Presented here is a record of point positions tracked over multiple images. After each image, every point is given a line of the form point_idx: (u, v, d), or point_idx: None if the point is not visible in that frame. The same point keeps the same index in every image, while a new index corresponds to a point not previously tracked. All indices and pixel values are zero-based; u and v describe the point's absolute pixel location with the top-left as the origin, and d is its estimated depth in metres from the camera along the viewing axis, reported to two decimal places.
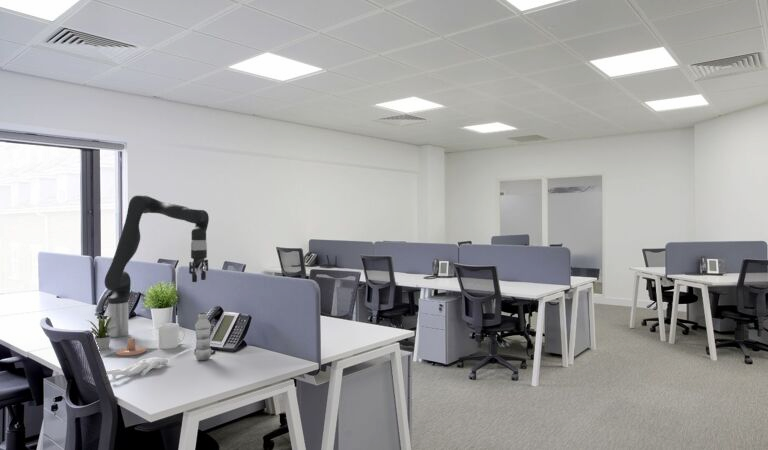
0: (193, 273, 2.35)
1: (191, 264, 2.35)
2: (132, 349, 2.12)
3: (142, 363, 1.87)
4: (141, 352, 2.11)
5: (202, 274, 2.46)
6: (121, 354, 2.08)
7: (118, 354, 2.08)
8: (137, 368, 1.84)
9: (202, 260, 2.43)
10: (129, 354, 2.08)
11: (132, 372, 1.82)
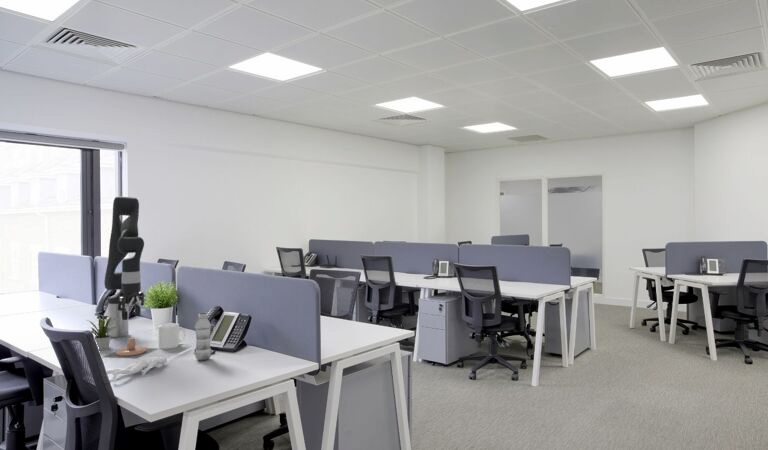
0: (122, 310, 2.06)
1: (120, 300, 2.06)
2: (132, 349, 2.12)
3: (142, 362, 1.87)
4: (141, 352, 2.11)
5: (136, 309, 2.17)
6: (121, 354, 2.08)
7: (118, 354, 2.08)
8: (137, 367, 1.84)
9: (135, 294, 2.14)
10: (129, 354, 2.08)
11: (132, 371, 1.82)
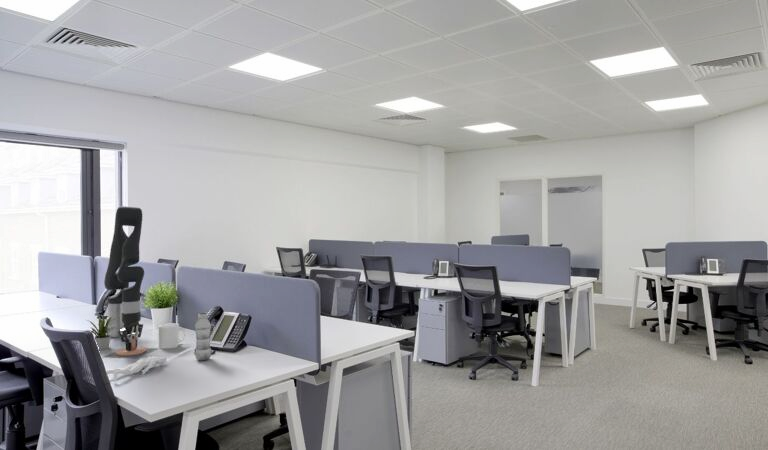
0: (126, 341, 2.09)
1: (121, 333, 2.07)
2: (132, 349, 2.12)
3: (141, 362, 1.88)
4: (141, 352, 2.11)
5: None
6: (121, 354, 2.08)
7: (118, 354, 2.08)
8: (137, 367, 1.85)
9: (135, 323, 2.15)
10: (129, 354, 2.08)
11: (132, 371, 1.83)
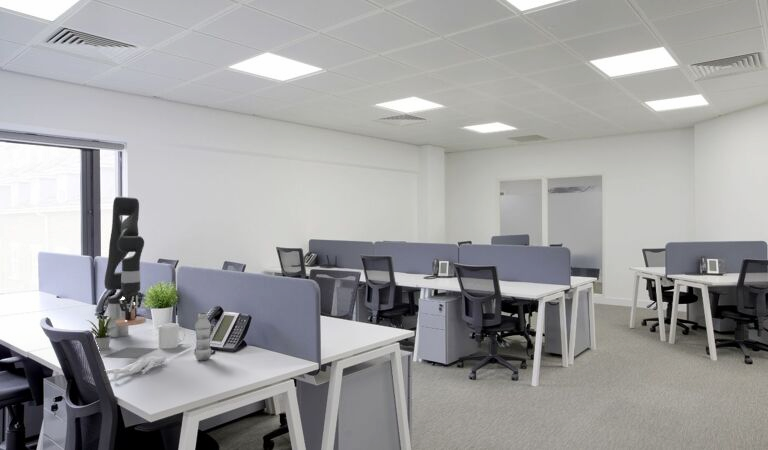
0: (126, 311, 2.08)
1: (121, 302, 2.07)
2: (132, 319, 2.12)
3: (141, 362, 1.88)
4: (141, 322, 2.11)
5: None
6: (121, 323, 2.07)
7: (118, 323, 2.08)
8: (137, 367, 1.85)
9: (135, 293, 2.14)
10: (129, 323, 2.08)
11: (132, 371, 1.83)
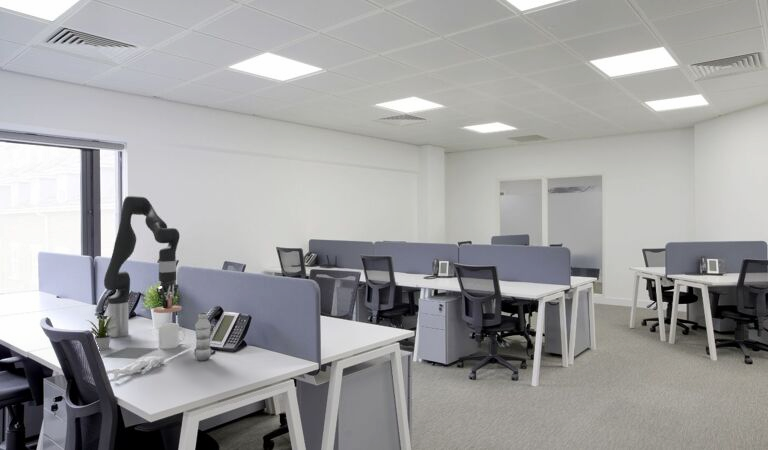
0: (163, 299, 2.19)
1: (159, 291, 2.18)
2: (169, 307, 2.23)
3: (141, 362, 1.88)
4: (177, 309, 2.22)
5: None
6: (159, 311, 2.18)
7: (156, 311, 2.19)
8: (137, 367, 1.85)
9: (171, 282, 2.25)
10: (166, 311, 2.18)
11: (132, 371, 1.83)
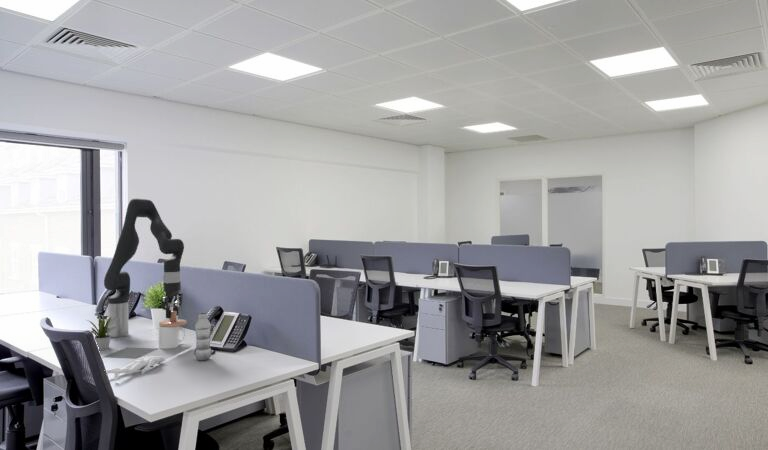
0: (167, 309, 2.20)
1: (163, 300, 2.19)
2: (174, 321, 2.25)
3: (141, 361, 1.89)
4: (182, 324, 2.24)
5: (174, 309, 2.28)
6: (164, 325, 2.20)
7: (161, 325, 2.21)
8: (137, 366, 1.86)
9: (176, 293, 2.27)
10: (172, 325, 2.20)
11: (132, 370, 1.84)
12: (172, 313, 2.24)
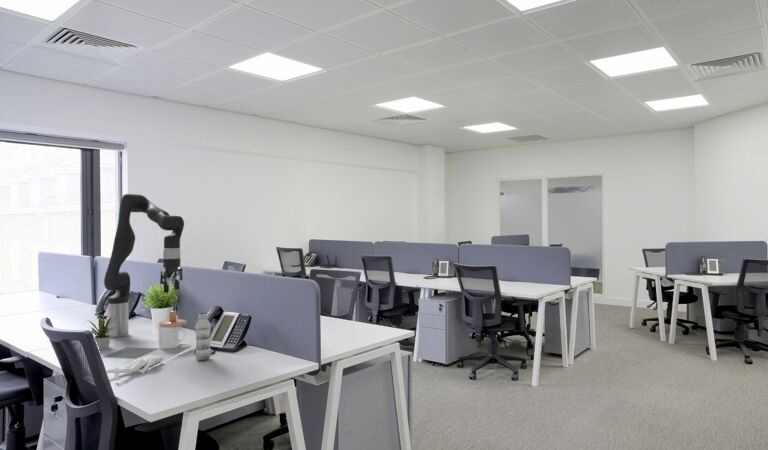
0: (164, 283, 2.21)
1: (162, 274, 2.21)
2: (174, 321, 2.25)
3: (140, 361, 1.89)
4: (182, 324, 2.24)
5: (175, 284, 2.32)
6: (164, 325, 2.20)
7: (161, 325, 2.21)
8: (136, 366, 1.86)
9: (175, 269, 2.29)
10: (172, 325, 2.20)
11: (132, 370, 1.84)
12: (172, 313, 2.24)
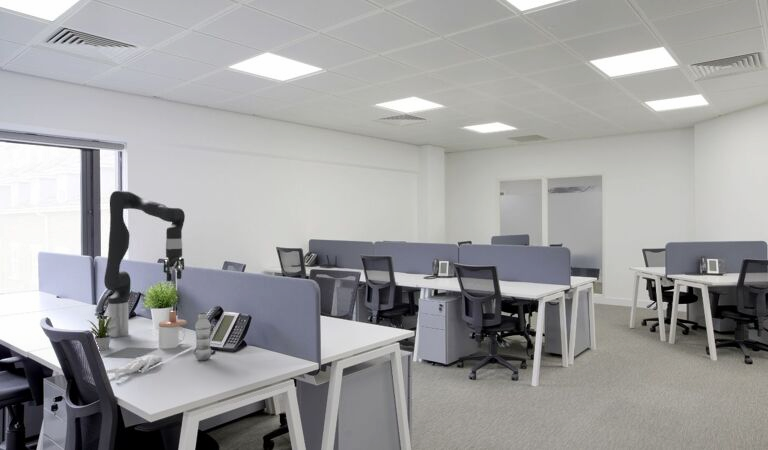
0: (167, 272, 2.32)
1: (165, 263, 2.32)
2: (173, 321, 2.25)
3: (140, 361, 1.89)
4: (182, 324, 2.24)
5: (178, 273, 2.43)
6: (164, 325, 2.20)
7: (161, 325, 2.21)
8: (136, 366, 1.87)
9: (177, 259, 2.40)
10: (171, 325, 2.20)
11: (132, 370, 1.84)
12: (172, 313, 2.24)
